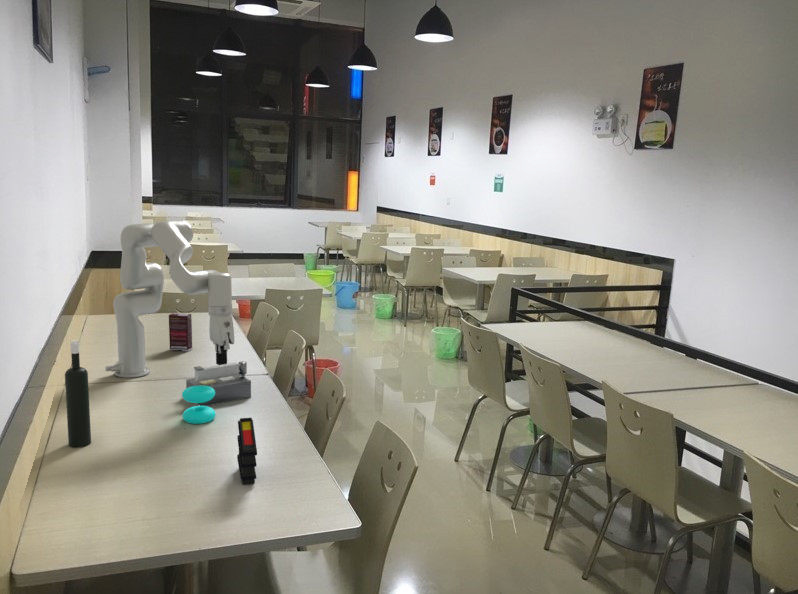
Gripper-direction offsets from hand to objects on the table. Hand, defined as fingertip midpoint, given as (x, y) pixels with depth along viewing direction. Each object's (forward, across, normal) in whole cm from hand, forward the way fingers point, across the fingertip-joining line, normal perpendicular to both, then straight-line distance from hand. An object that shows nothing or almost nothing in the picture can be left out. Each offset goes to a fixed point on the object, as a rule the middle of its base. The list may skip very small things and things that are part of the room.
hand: (221, 363), depth 223 cm
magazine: (+15, -56, +18) cm, 61 cm away
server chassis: (+14, +7, -3) cm, 16 cm away
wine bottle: (+14, -10, +47) cm, 50 cm away
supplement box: (+13, +74, -14) cm, 77 cm away
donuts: (+14, -10, +12) cm, 21 cm away
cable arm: (+7, +7, -3) cm, 10 cm away
